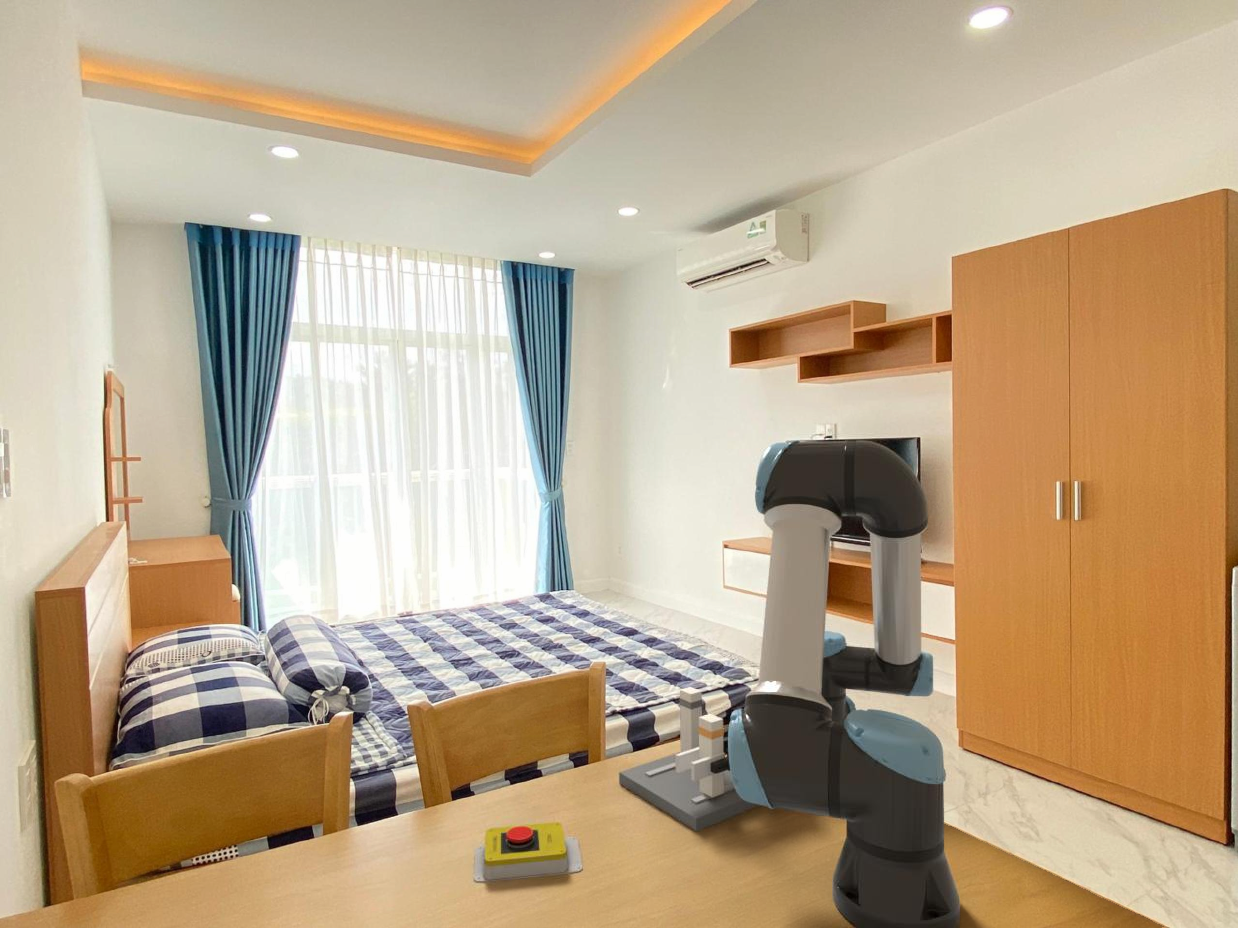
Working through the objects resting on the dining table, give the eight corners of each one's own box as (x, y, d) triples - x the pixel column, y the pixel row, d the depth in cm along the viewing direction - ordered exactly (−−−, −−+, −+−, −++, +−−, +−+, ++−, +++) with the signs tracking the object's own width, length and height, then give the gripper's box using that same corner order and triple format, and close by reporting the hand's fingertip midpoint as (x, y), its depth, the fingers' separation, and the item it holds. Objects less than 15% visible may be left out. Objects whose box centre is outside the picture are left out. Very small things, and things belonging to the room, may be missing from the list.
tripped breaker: (711, 785, 123) (710, 713, 123) (724, 792, 121) (723, 718, 120) (699, 790, 122) (698, 716, 121) (712, 797, 119) (711, 722, 119)
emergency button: (474, 820, 111) (576, 811, 113) (475, 849, 111) (577, 839, 113) (472, 854, 102) (583, 843, 104) (473, 886, 102) (583, 874, 104)
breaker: (691, 752, 137) (690, 686, 136) (702, 757, 134) (701, 691, 134) (680, 755, 135) (679, 689, 135) (691, 761, 133) (690, 694, 132)
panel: (697, 756, 141) (697, 744, 141) (778, 796, 125) (778, 783, 125) (619, 783, 130) (619, 770, 130) (696, 831, 114) (696, 816, 114)
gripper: (824, 769, 125) (720, 811, 112) (754, 738, 138) (653, 773, 125) (824, 724, 125) (720, 761, 111) (754, 698, 138) (652, 728, 124)
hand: (685, 767), depth 118 cm, fingers closed on tripped breaker, 3 cm apart
